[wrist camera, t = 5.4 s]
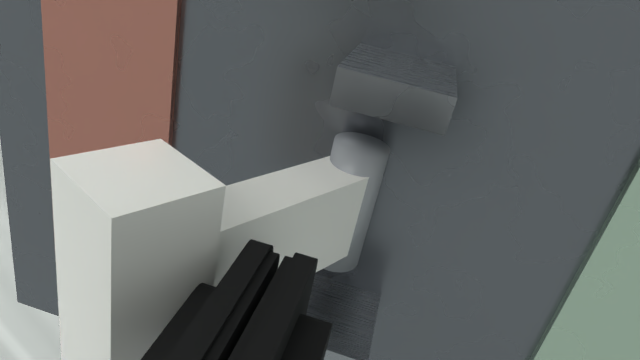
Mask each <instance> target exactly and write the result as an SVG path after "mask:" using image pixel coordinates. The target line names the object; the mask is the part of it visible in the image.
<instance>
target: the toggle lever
mask: <svg viewBox="0 0 640 360" xmlns="http://www.w3.org/2000/svg"><path fill="white" fill-rule="evenodd" d="M389 154H390V148H389V146H388V145H387V144H386V143H384V142H383V141H381V140H379V139H377V138H375V137H372V136H369V135H366V134H362V133H356V132H343V133H339V134H337V135H336V136H335V138H334V142H333V146H332V150H331V155H330V156H328V157H325V158H321V159H318V160H314V161H311V162H307V163H304V164H300V165H297V166H293V167H290V168H286V169H283V170H279V171H276V172H272V173H269V174H265V175H262V176H258V177H255V178H251V179H248V180H244V181H241V182H237V183H234V184H230V185H227V186H226V185H225V184H223V183H222V182H220V181H219V180H218V179H216V178H215V177H213V176H212V175H211V174H209V173H208V172H206V171H205V170H204V169H202V168H201V167H200V166H198V165H197V164H195V163H194V162H193V161H191V160H190V159H188V158H187V157H186V156H184V155H183V154H181V153H180V152H179V151H177V150H176V149H174V148H173V147H172V146H170V145H169V144H168V143H166V142H165V141H163V140H162V139H156V140H151V141H145V142H140V143H134V144H128V145H123V146H117V147H112V148H106V149H101V150H95V151H90V152H84V153H79V154H73V155H68V156H62V157H57V158H51V159H50V168H51V186H52V204H53V221H54V239H55V257H56V274H57V292H58V310H59V327H60V345H61V360H141V358H142V357H143V356H144V354H145V353H146V352H147V351H148V349H149V348H150V347H151V345H152V344H153V343H154V341H155V340H156V339H157V338H158V336H159V335H160V334H161V332H162V331H163V330H164V328H165V327H166V326H167V324H168V323H169V322H170V321H171V319H172V318H173V317H174V315H175V314H176V313H177V311H178V310H179V309H180V307H181V306H182V305H183V304H184V302H185V301H186V300H187V298H188V297H189V296H190V294H191V293H192V292H193V290H194V289H195V288H196V287H197V286H198V285H199V284H200V283H205V284H208V285H212V286H215V287H217V285H218V284H219V282H220V281H221V279H222V278H223V277H224V275H225V274H226V272H227V271H228V270H229V268H230V267H231V265H232V264H233V262H234V261H235V260H236V258H237V257H238V255H239V254H240V253H241V251H242V250H243V248H244V247H245V245H246V244H247V243H248V241H249V240H250V239H253V240H256V241H259V242H263V243H266V244H270V245H273V252H275V253H278V254H280V259H279V265H278V267H279V266H280V264H281V262H282V260H283V258H284V257H285V256H288V257H292V258H293V256H294V254H295V253H296V252H297V253H300V254H303V255H307V256H310V257H314V258H317V259H318V263H317V268H316V272H318V271H320V270H321V269H325V270H328V271H332V272H348V271H351V270H353V269H354V268H355V267H356V266H357V264H358V261H359V257H360V254H361V250H362V247H363V243H364V240H365V237H366V233H367V230H368V226H369V223H370V219H371V216H372V212H373V209H374V206H375V202H376V199H377V195H378V192H379V188H380V185H381V181H382V178H383V174H384V171H385V168H386V164H387V161H388V157H389Z"/></svg>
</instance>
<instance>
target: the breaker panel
mask: <svg viewBox="0 0 640 360" xmlns="http://www.w3.org/2000/svg"><path fill="white" fill-rule="evenodd" d="M343 132H356V133H362V134H366V135H369V136H372V137H375V138H377V139H379V140H381V141H383V142H384V143H386V144H387V145H388V146H389V148H390V154H389V157H388V161H387V164H386V168H385V171H384V174H383V178H382V181H381V185H380V188H379V192H378V195H377V199H376V202H375V206H374V209H373V212H372V216H371V219H370V223H369V226H368V230H367V233H366V237H365V240H364V243H363V247H362V250H361V254H360V257H359V261H358V264H357V266H356V267H355V268H354V269H353V270H351V271H348V272H332V271H328V270H325V269H321V270H320V271H318V272H316V273H315V277H314V282H313V286H312V291H311V296H310V300H309V305H308V309H307V314H306V315H308V316H311V317H314V318H317V319H320V320H324V321H327V322H330V323H333V325H332V330H331V334H330V338H329V342H328V345H327V349H326V353H325V357H324V360H640V0H0V138H1V148H2V157H3V167H4V176H5V186H6V195H7V205H8V214H9V224H10V233H11V243H12V252H13V262H14V271H15V281H16V291H17V300H18V302H20V303H23V304H25V305H28V306H31V307H34V308H37V309H40V310H43V311H46V312H48V313H51V314H54V315H57V316H59V310H58V292H57V274H56V257H55V239H54V221H53V204H52V186H51V168H50V159H51V158H57V157H62V156H68V155H73V154H79V153H84V152H90V151H95V150H101V149H106V148H112V147H117V146H123V145H128V144H134V143H140V142H145V141H151V140H156V139H162V140H163V141H165V142H166V143H168V144H169V145H170V146H172V147H173V148H174V149H176V150H177V151H179V152H180V153H181V154H183V155H184V156H186V157H187V158H188V159H190V160H191V161H193V162H194V163H195V164H197V165H198V166H200V167H201V168H202V169H204V170H205V171H206V172H208V173H209V174H211V175H212V176H213V177H215V178H216V179H218V180H219V181H220V182H222V183H223V184H225V185H226V186H227V185H230V184H234V183H237V182H241V181H244V180H248V179H251V178H255V177H258V176H262V175H265V174H269V173H272V172H276V171H279V170H283V169H286V168H290V167H293V166H297V165H300V164H304V163H307V162H311V161H314V160H318V159H321V158H325V157H328V156H330V155H331V150H332V146H333V142H334V138H335V136H336V135H337V134H339V133H343Z"/></svg>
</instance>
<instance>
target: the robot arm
mask: <svg viewBox="0 0 640 360" xmlns="http://www.w3.org/2000/svg"><path fill="white" fill-rule="evenodd" d="M279 259H280V254H278V253H275V252H273V245H270V244H266V243H263V242H259V241H256V240H253V239H250V240H249V241H248V243H247V244H246V245H245V247H244V248H243V250H242V251H241V253H240V254H239V255H238V257H237V258H236V260H235V261H234V262H233V264H232V265H231V267H230V268H229V270H228V271H227V272H226V274H225V275H224V277H223V278H222V279H221V281H220V282H219V284H218V285H217V287H215V286H212V285H208V284H205V283H200V284H199V285H198V286H197V287H196V288H195V289H194V290H193V292H192V293H191V294H190V296H189V297H188V298H187V300H186V301H185V302H184V304H183V305H182V306H181V307H180V309H179V310H178V311H177V313H176V314H175V315H174V317H173V318H172V319H171V321H170V322H169V323H168V324H167V326H166V327H165V328H164V330H163V331H162V332H161V334H160V335H159V336H158V338H157V339H156V340H155V341H154V343H153V344H152V345H151V347H150V348H149V349H148V351H147V352H146V353H145V354H144V356H143V357H142V358H141V360H324V357H325V353H326V349H327V345H328V342H329V338H330V334H331V330H332V325H333V323H330V322H327V321H324V320H320V319H317V318H314V317H311V316H308V315H306V314H307V309H308V305H309V300H310V296H311V291H312V286H313V282H314V277H315V273H316V268H317V263H318V259H317V258H314V257H310V256H307V255H303V254H300V253H297V252H296V253H295V254H294V256H293V258H292V257H288V256H285V257H284V258H283V260H282V262H281V264H280V266H279V267H278V265H279Z"/></svg>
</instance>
